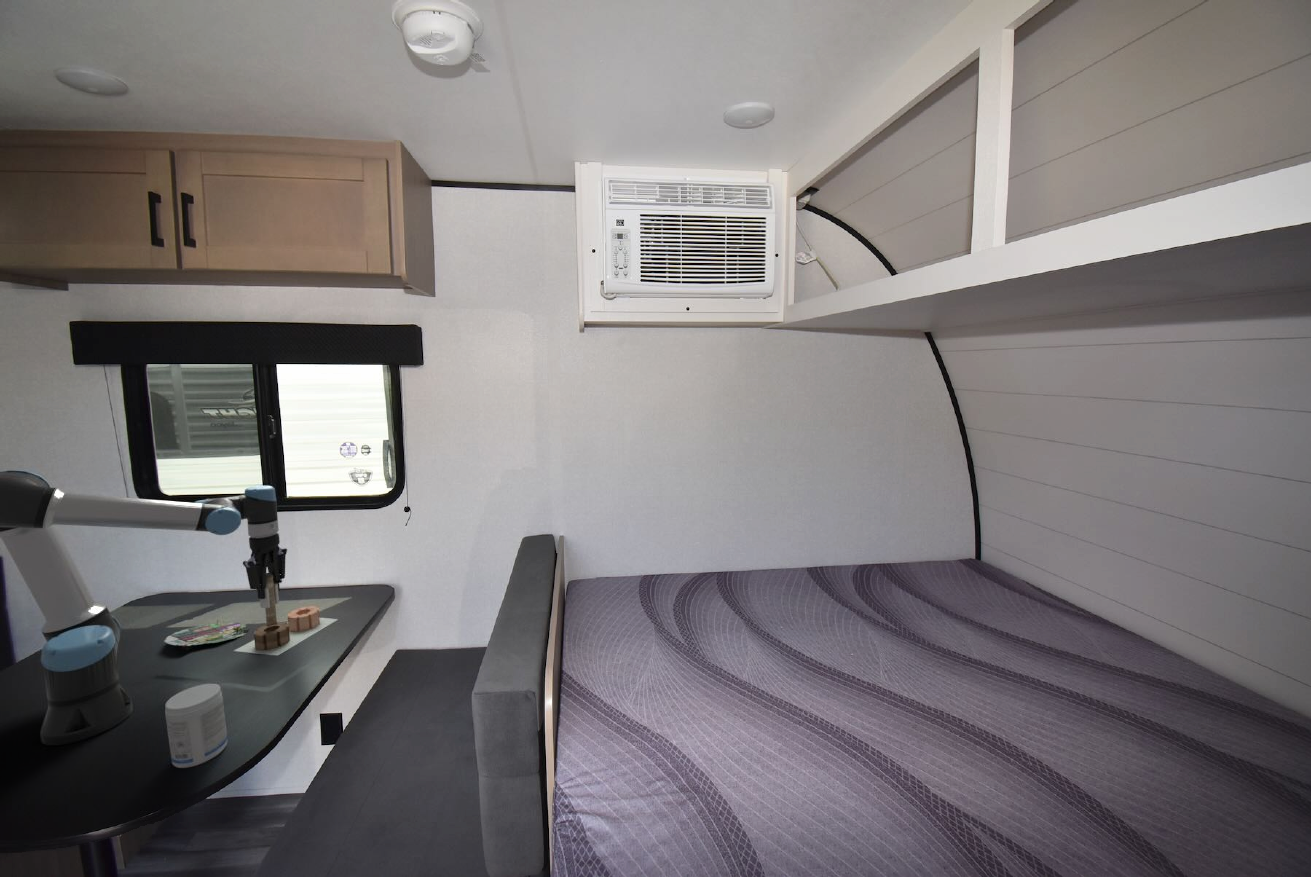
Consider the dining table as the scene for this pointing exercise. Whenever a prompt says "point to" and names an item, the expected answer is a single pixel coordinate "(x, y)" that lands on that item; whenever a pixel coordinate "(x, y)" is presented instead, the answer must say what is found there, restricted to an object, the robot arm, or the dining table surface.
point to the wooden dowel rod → (271, 610)
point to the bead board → (294, 639)
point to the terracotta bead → (303, 618)
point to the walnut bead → (271, 636)
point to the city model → (206, 634)
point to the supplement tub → (196, 725)
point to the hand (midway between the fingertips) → (270, 604)
